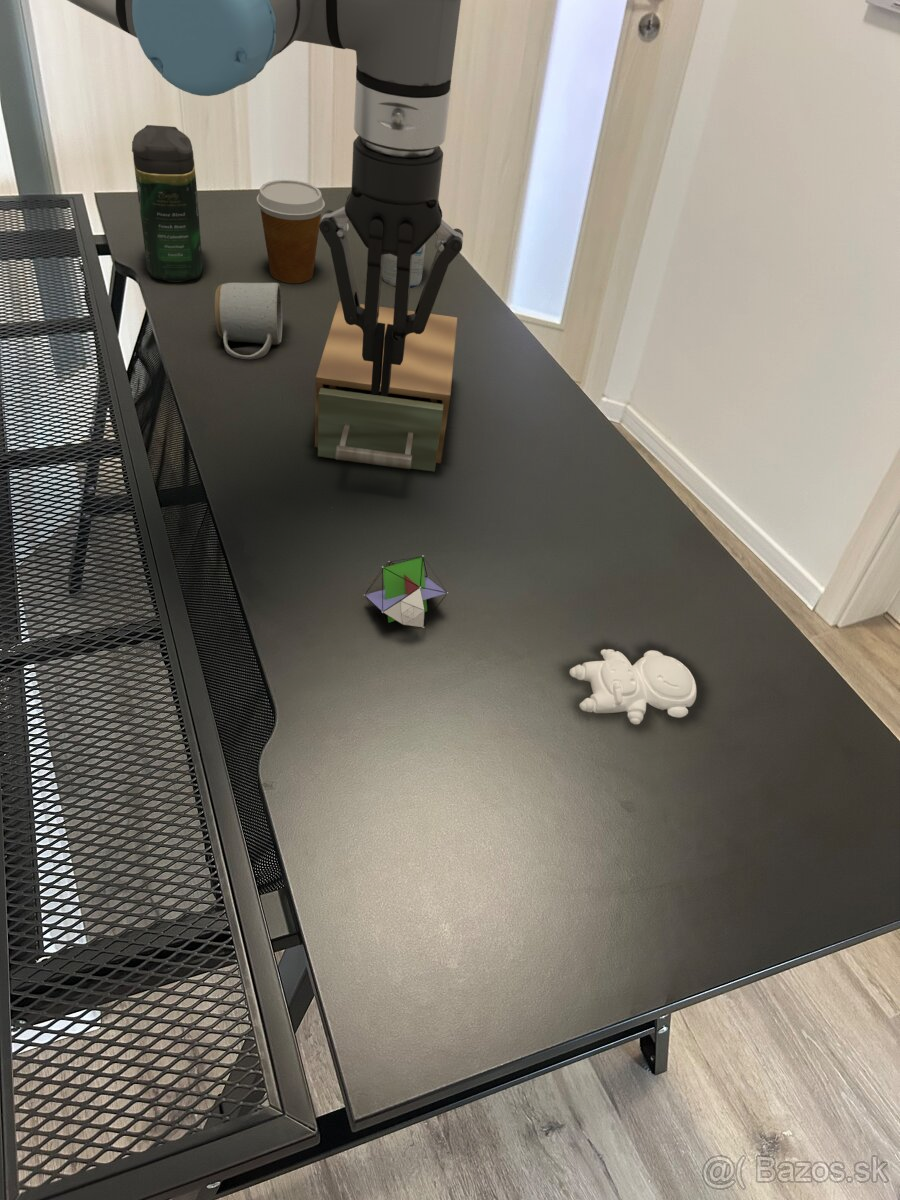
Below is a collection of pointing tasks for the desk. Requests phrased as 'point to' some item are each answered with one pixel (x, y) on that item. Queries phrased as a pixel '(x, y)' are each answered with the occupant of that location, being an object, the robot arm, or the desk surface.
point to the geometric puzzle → (405, 592)
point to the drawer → (378, 428)
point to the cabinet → (416, 376)
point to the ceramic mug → (249, 315)
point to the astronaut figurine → (637, 685)
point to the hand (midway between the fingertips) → (380, 388)
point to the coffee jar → (168, 202)
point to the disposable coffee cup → (291, 227)
